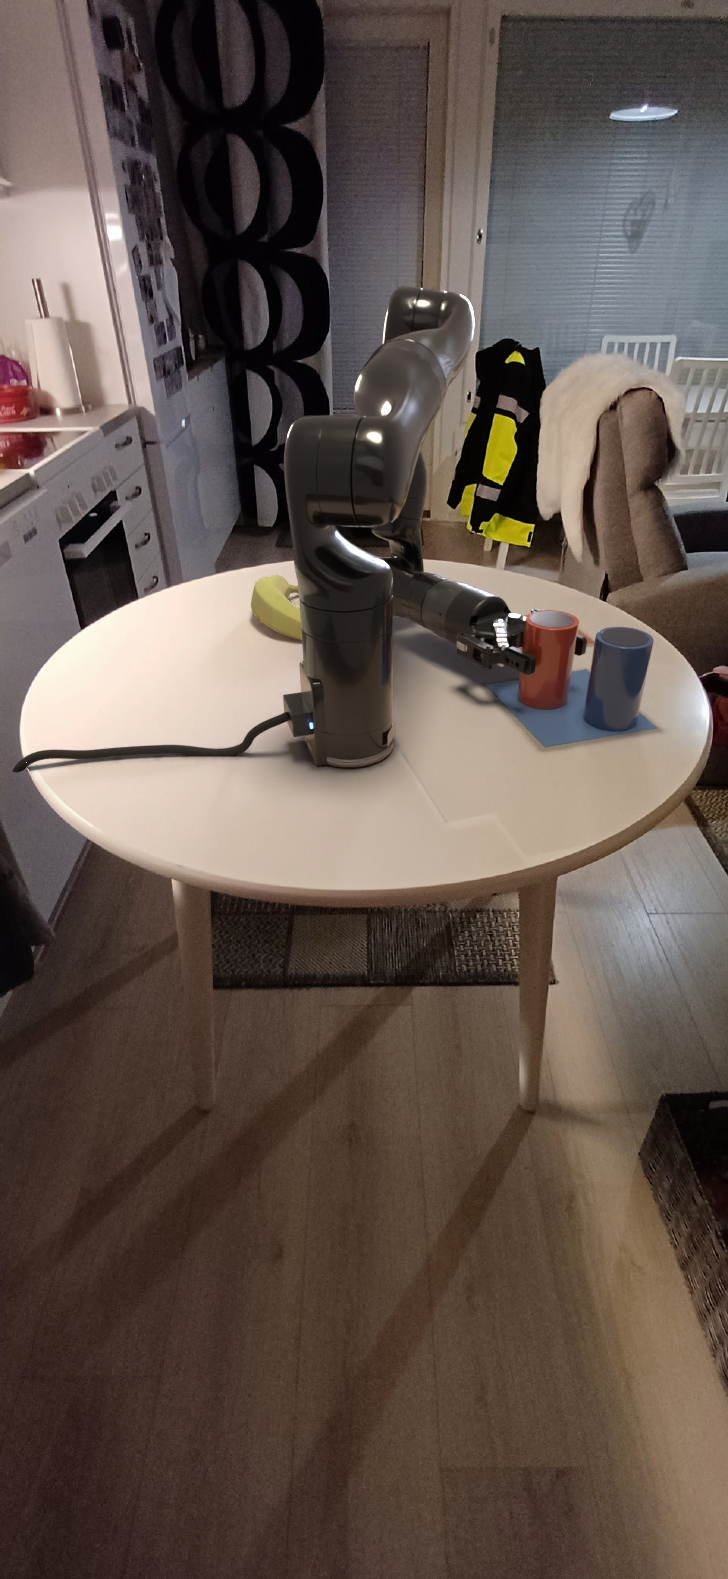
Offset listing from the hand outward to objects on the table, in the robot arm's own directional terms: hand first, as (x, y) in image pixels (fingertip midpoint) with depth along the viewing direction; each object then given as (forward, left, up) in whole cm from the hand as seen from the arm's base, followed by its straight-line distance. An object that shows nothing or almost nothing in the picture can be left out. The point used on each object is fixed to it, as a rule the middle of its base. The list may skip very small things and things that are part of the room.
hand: (559, 656), depth 89 cm
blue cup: (+4, -5, -6) cm, 9 cm away
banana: (-24, +38, -7) cm, 45 cm away
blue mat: (+1, -1, -6) cm, 7 cm away
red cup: (-1, +2, -6) cm, 6 cm away
